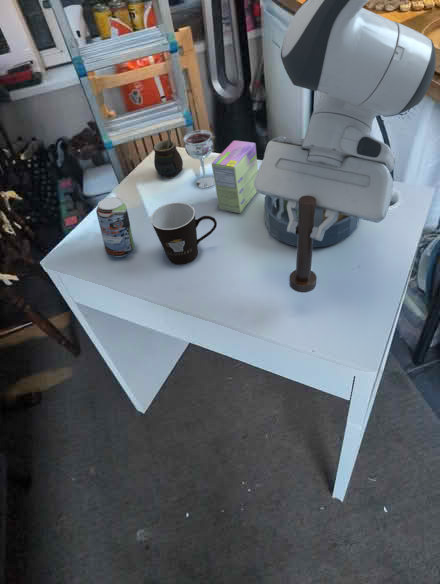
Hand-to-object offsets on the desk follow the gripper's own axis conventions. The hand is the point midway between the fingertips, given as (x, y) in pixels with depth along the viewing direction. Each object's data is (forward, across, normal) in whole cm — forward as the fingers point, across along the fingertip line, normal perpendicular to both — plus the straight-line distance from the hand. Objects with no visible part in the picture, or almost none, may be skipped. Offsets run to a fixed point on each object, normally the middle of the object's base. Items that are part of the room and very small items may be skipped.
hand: (304, 236), depth 65 cm
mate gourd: (-7, -50, +30) cm, 59 cm away
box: (-5, -27, +28) cm, 39 cm away
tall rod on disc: (+7, 0, +7) cm, 10 cm away
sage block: (-6, -13, +27) cm, 31 cm away
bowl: (-5, -9, +27) cm, 29 cm away
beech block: (-6, -4, +27) cm, 28 cm away
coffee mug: (+10, -27, +13) cm, 31 cm away
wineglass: (-7, -39, +30) cm, 50 cm away
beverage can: (+13, -41, +10) cm, 44 cm away
